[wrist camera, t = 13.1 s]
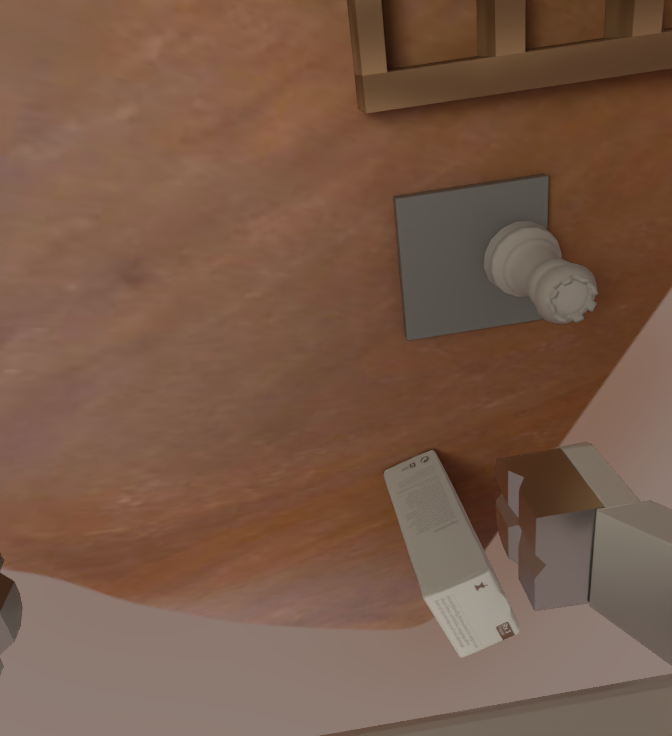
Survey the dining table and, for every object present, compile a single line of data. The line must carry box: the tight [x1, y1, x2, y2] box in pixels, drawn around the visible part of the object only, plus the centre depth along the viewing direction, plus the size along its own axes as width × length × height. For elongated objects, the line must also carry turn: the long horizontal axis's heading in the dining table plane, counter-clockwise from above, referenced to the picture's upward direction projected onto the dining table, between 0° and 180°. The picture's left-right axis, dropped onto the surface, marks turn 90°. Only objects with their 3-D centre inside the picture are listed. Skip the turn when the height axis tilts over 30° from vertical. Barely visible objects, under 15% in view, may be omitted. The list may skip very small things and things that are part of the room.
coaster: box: [393, 174, 548, 341], centre depth 39 cm, size 9×9×1 cm
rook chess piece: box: [484, 221, 598, 324], centre depth 35 cm, size 4×4×8 cm
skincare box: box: [384, 450, 521, 658], centre depth 42 cm, size 6×4×12 cm
